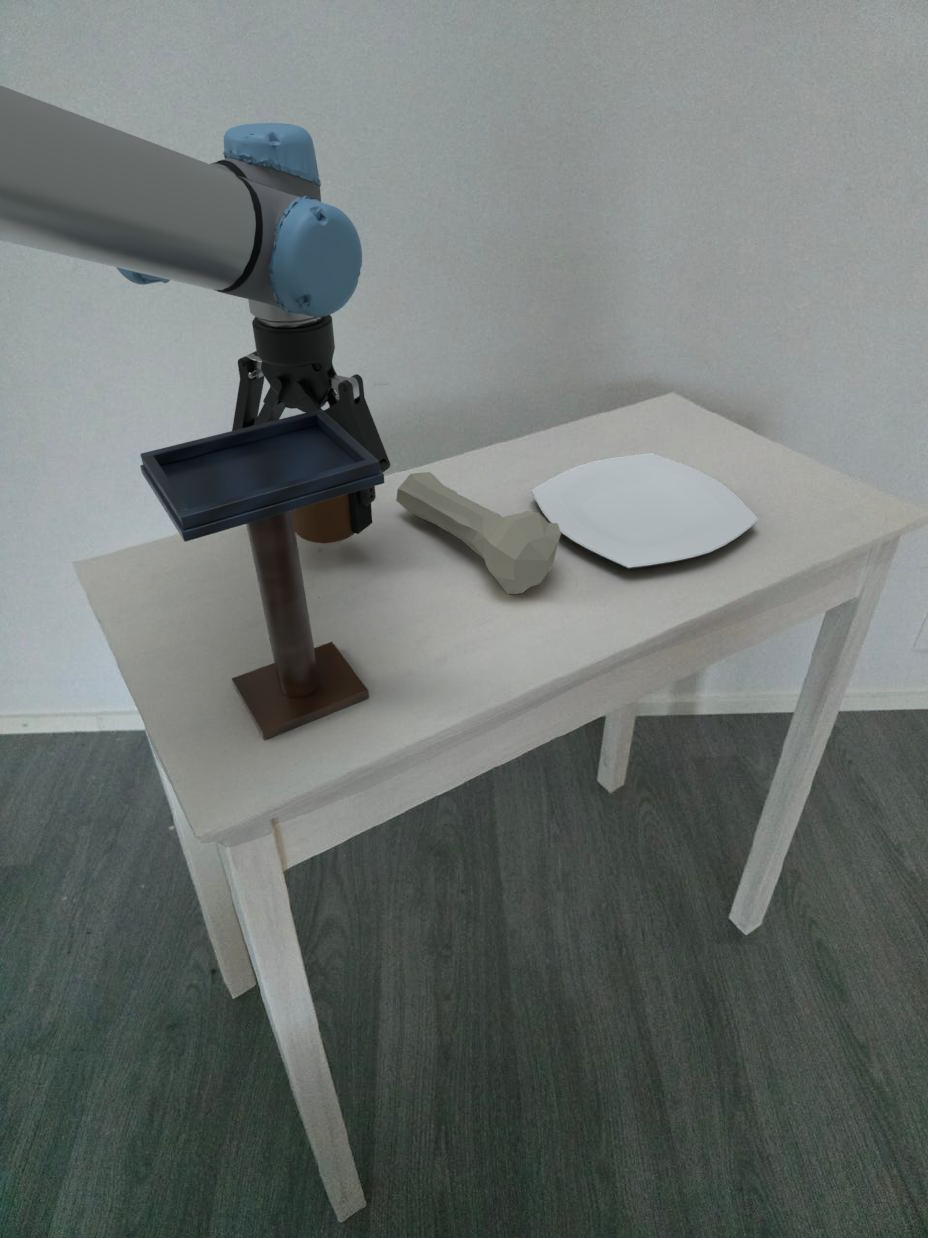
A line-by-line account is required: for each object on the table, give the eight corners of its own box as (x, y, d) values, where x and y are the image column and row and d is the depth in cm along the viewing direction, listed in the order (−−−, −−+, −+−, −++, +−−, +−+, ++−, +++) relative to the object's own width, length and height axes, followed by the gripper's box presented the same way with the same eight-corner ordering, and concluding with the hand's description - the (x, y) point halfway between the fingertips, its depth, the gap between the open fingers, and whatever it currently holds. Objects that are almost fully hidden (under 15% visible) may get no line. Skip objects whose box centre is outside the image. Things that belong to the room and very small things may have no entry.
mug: (258, 510, 94) (245, 433, 88) (315, 488, 98) (306, 413, 92) (318, 554, 87) (307, 473, 81) (376, 528, 91) (370, 450, 85)
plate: (505, 500, 102) (505, 486, 101) (652, 455, 111) (655, 441, 110) (622, 598, 87) (624, 583, 85) (783, 536, 96) (787, 522, 94)
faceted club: (506, 612, 83) (369, 520, 100) (565, 599, 89) (425, 514, 105) (525, 530, 80) (379, 448, 96) (585, 522, 85) (437, 446, 101)
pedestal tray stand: (242, 763, 69) (178, 519, 55) (201, 686, 77) (136, 452, 62) (401, 697, 75) (383, 461, 61) (349, 631, 83) (322, 406, 68)
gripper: (419, 323, 77) (426, 525, 90) (223, 284, 86) (256, 473, 99) (373, 349, 72) (387, 559, 85) (169, 305, 81) (211, 500, 94)
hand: (316, 513), depth 92 cm, fingers closed on mug, 12 cm apart
